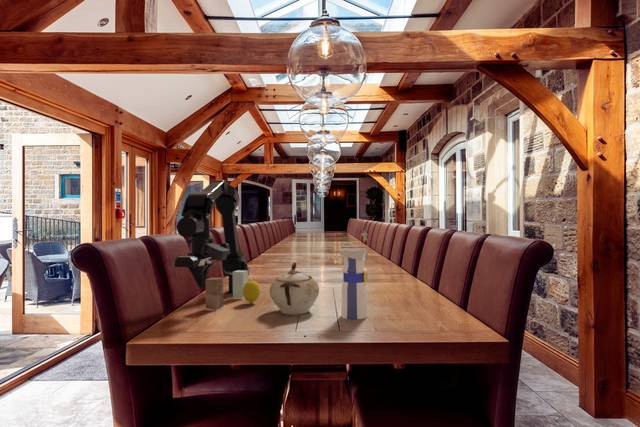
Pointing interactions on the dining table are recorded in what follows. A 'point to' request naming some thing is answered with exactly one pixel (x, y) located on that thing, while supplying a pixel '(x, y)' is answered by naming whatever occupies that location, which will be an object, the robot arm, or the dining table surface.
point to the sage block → (239, 283)
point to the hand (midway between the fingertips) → (201, 287)
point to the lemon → (251, 291)
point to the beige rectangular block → (214, 293)
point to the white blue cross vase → (354, 283)
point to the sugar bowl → (294, 292)
